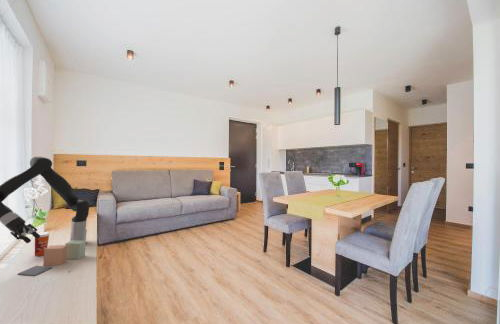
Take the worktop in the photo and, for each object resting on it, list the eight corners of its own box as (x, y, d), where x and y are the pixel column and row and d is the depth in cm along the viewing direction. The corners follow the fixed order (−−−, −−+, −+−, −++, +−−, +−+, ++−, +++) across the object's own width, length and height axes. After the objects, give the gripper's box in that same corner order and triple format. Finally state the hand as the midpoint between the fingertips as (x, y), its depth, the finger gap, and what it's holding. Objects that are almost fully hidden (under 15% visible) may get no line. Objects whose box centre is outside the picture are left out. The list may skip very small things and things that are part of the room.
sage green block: (64, 259, 144) (65, 243, 144) (70, 255, 150) (71, 240, 150) (79, 259, 145) (80, 243, 145) (84, 255, 151) (85, 240, 151)
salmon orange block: (43, 265, 133) (44, 249, 134) (49, 261, 139) (50, 245, 139) (61, 264, 136) (62, 248, 136) (66, 260, 142) (67, 244, 142)
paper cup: (38, 257, 144) (40, 235, 144) (29, 255, 145) (31, 234, 146) (51, 253, 152) (53, 232, 152) (42, 251, 153) (44, 231, 153)
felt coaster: (36, 266, 132) (36, 265, 132) (52, 267, 131) (52, 266, 131) (17, 274, 122) (17, 273, 122) (34, 276, 121) (34, 275, 121)
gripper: (9, 219, 126) (32, 239, 129) (26, 214, 140) (47, 231, 142) (-4, 228, 124) (20, 248, 127) (15, 222, 138) (36, 240, 141)
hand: (34, 239), depth 135 cm, fingers open, 8 cm apart
